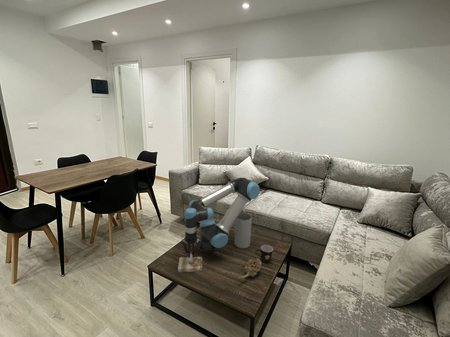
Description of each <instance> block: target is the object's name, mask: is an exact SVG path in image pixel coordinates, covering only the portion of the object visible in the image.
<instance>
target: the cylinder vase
mask: <svg viewBox="0 0 450 337" xmlns="http://www.w3.org/2000/svg"><path fill="white" fill-rule="evenodd" d="M252 217H253V216H252V214H250V213H248V212H241V213H240V214H239V216H238V217H237V219H236V220H235V222H234V228H235V229H234V246H235V247H237V248H239V249H247V248H249V247H250V245H251V234H252V222H253V221H252V219H253V218H252Z"/></svg>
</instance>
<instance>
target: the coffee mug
mask: <svg viewBox="0 0 450 337" xmlns="http://www.w3.org/2000/svg"><path fill="white" fill-rule="evenodd" d="M257 251H259V252H260V255H259V254H258V252H257ZM273 252H274V248H273V246H271V245H269V244H268V245H267V244H264V245H261V246H260V249H256V250H255V254H256V255H257V256H258V257H259V258H260V259H261V260H260V261H261V263H264V264H270V263H271V260H272V256H273Z"/></svg>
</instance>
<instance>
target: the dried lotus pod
mask: <svg viewBox="0 0 450 337" xmlns="http://www.w3.org/2000/svg"><path fill="white" fill-rule="evenodd" d="M261 268H262V261H261V260H260V259H259V258H255V259H254V258H252V259H249V260H248V262H247V263H246V265H245V266H244V272H245V273H246V274H244V275H243V276H242V275H241V276H239V277H238V279H240V280H241V279H244V278H247V277H255V276H256V275H257V274H258V272H260V269H261Z"/></svg>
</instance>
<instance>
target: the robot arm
mask: <svg viewBox="0 0 450 337" xmlns="http://www.w3.org/2000/svg"><path fill="white" fill-rule="evenodd" d="M260 189H261V188H260V185H259V184H257V183H256V182H254V181H252V180H250V179H249V178H246V177H238V178H235V179H232V180H230V181H228V182H227V184H225V185H224V186H221V187H220V188H218V189H216V190H215V191H212V192H210V193H209V194H207V195H205V196H203V197H202V198H199V199H198V200H197V199H195V200H194V199H192V200H191V201H189V203H188V208H186V209H185V210H184V238H183V239H181V244H182V246H183V249H184V253H185V254H187V257H189V258H190V262H192V258H194V257H195V254H197V251H199V252H201V253H204V254H211V253H213V252H214V253H215V252H216V250H218V249H220V248H223V247H225V246H226V245H227V244H228V242H229V234H230V229H231V228H232V226H233V225H234V224H235V221H236V219H237V217H238V216H239V214H240V213H242V211H243V209H244V208H245V206H247V203H250V202H251V201H252V200H255V199H257V198H258V197H259V196H260V192H261V191H260ZM236 193H237V195H236V197H235V199H234V201H233V202H232V204H230V206H229V207H228V209H227V211H226V213H225V214H224V215H223V217H222V218H221V219H220V221H219V222H218V223H216V220H215V219H213V217H214V210H213V209H212V207H210V206H212V205H213V204H215V203H217V202H218V201H220V200H222V199H224V198H225V197H228V196H229V195H231V194H236ZM199 222H200V223H199ZM197 223H199V238H198V237H197V235H198V234H197V233H198V232H197ZM186 243H187V244H186ZM195 244H196V245H195Z"/></svg>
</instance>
